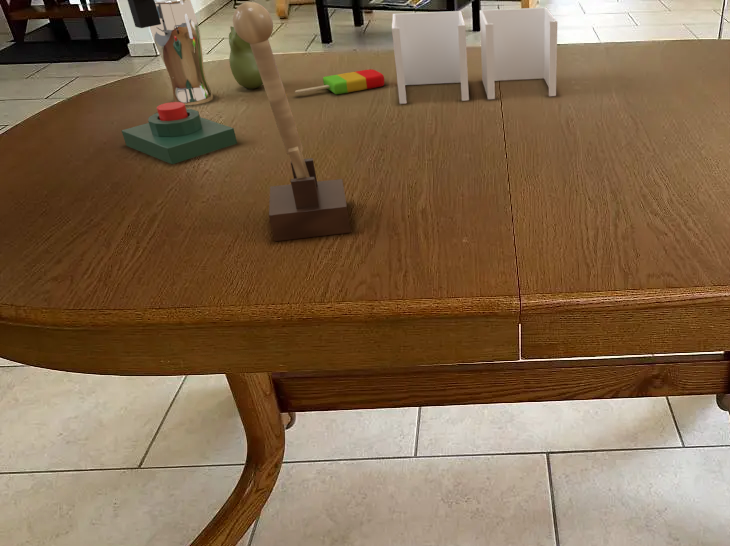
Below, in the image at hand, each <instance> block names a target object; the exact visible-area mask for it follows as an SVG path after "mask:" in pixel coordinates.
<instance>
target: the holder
mask: <svg viewBox="0 0 730 546" xmlns="http://www.w3.org/2000/svg"><path fill="white" fill-rule="evenodd" d="M304 160H305V163H306V167H307V170H308V173H309V176H310V177H306V178H297V176H296V173H295V170H294V167H293V164H292V161H291V160H290V167H291V172H292V177H293V178H290V184H282V185H272V186H271V185H270V186H269V202H268V203H269V206H268V217H269V218H268V219H269V222H270V226H271V232H272V235H273V239H274V242H282V241H291V240H298V239H299V240H300V239H308V238H316V237H323V236H333V235H334V236H335V235H341V234H342V235H343V234H348V233H349V234H350V233H352V230H351V223H350V218H349V212H348V207H347V200H346V199H347V198H346V193H345V188H344V179H343V178H338V179H328V180H318V178H317V173H316V167H315V161H314V158H312V157H310V158H304Z"/></svg>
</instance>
